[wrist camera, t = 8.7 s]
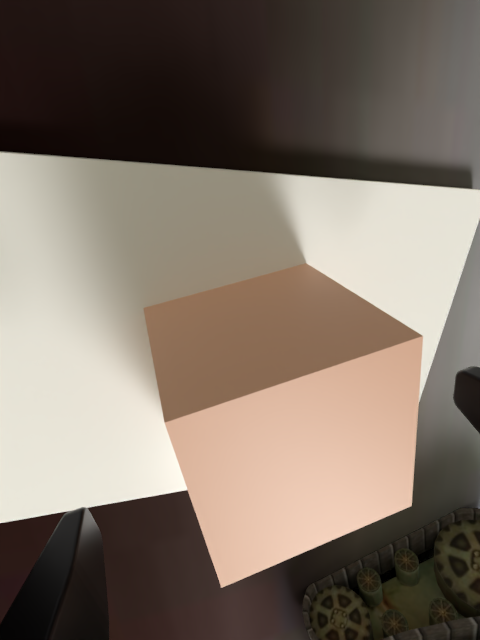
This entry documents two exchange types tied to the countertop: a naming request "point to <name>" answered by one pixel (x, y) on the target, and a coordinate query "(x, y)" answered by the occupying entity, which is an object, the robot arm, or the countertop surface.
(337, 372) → the block
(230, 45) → the countertop surface
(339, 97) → the countertop surface
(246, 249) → the board
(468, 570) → the toy
